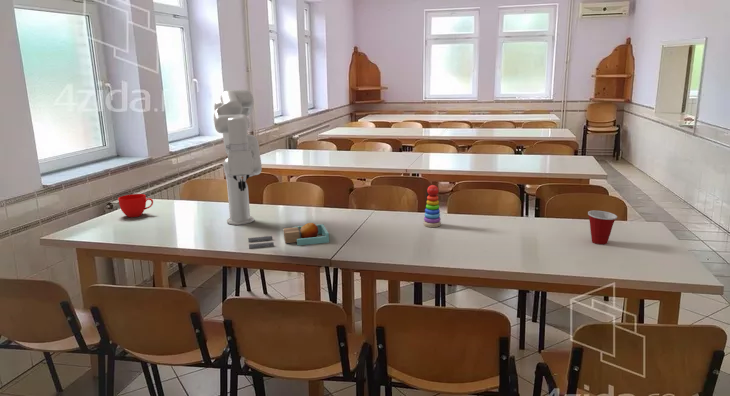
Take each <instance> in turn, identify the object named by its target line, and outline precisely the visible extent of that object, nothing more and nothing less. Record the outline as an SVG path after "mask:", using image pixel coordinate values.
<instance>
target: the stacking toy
mask: <svg viewBox="0 0 730 396" xmlns="http://www.w3.org/2000/svg"><path fill="white" fill-rule="evenodd" d="M426 192H427V194H428V195H427V197H426V199H427V200H426V205H425V209H424V218H423V220H424V221H423V225H424V226H425V227H428V228H438V227H440V226H441V225H442V224H441V223H442V222H441V213H440V205H439V204H440V201H439V196H438V195H439V188H438V186H437V185H434V184H431V185H429V186H428V187H427V191H426Z"/></svg>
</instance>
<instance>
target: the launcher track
mask: <svg viewBox="0 0 730 396" xmlns="http://www.w3.org/2000/svg"><path fill="white" fill-rule="evenodd" d="M262 241H264V242H262ZM265 241H266V242H265ZM267 241H270V242H267ZM250 242H251V243H250ZM252 242H258V243H252ZM259 242H260V243H259ZM248 243H249V244H248V249H257V248H268V247H274V246H275V245H274V243H275V242H273V235H267V236H265V235H264V236H258V237H257V236H256V237H248Z"/></svg>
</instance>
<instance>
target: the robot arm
mask: <svg viewBox="0 0 730 396" xmlns="http://www.w3.org/2000/svg"><path fill="white" fill-rule="evenodd" d="M213 108H214V114H213V121H214V122H213V123H214V129H215V130H216V132H217V133H219V134H222V137H223V138H222V139H223V146H224V153H225V154H227V158H225V160H224V161H223V163H222V164H223V172H224V175H225V180H226V189H227V198H228V209H229V218H227V219H226V223H227V224H229V225H232V226H233V225H235V226H237V225H240V226H242V225H245V224H246V225H248V224H251V223H253V222H254V221H255V219H254V217H253V216H251V211H250V210H251V209H250V198H249V186H248V183H247V180H248V179H249V178H250V177H253V176H258V175H260V174H261V173H262V169H263V167H262V165H263V164H262V159H261V152H260V146H259V141H258V138H257V137H256V136H255V135H254V134H248V130H249V129H250V126H251V125H250V123H251V122H250V119H249V117H248V116H251V114H252V112H253V108H254V96H253V94H252V92H251V91H250V90H249V89H230V90H229V89H228V90H225V91H223V92H222V93H221V95H220V99H219V100H218V99H217V100H216V102H215V103H214V105H213Z"/></svg>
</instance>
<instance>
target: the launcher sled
mask: <svg viewBox="0 0 730 396" xmlns="http://www.w3.org/2000/svg"><path fill="white" fill-rule="evenodd" d="M293 227H294V228H293ZM293 227H286V228H285V227H284V228H283V239H284V243H285V244H292V243H297V239H301V238H302V237H301V232H300V229H299V228H298V227H296V226H293Z"/></svg>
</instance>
